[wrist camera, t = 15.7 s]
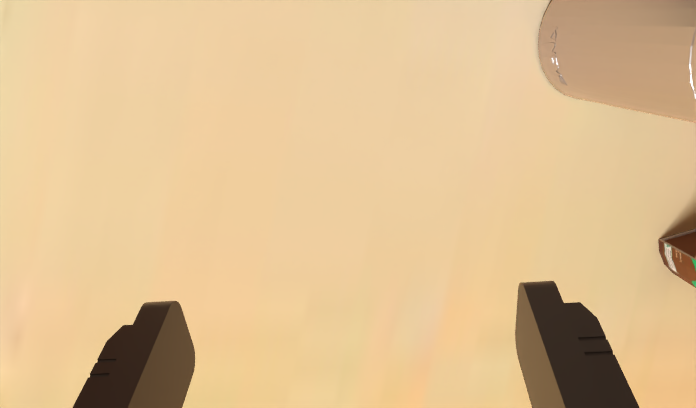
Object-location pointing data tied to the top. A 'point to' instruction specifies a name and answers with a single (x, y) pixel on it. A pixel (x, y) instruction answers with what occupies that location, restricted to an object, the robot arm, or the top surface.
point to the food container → (680, 255)
